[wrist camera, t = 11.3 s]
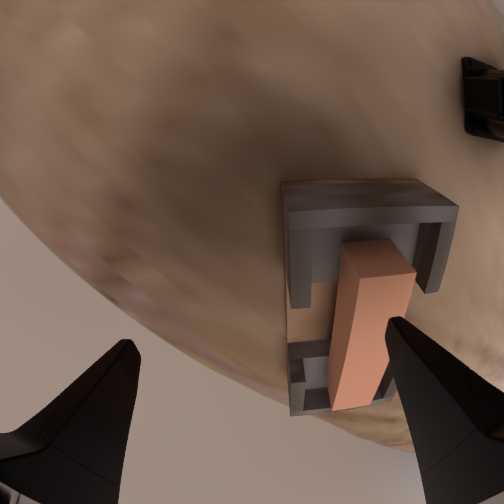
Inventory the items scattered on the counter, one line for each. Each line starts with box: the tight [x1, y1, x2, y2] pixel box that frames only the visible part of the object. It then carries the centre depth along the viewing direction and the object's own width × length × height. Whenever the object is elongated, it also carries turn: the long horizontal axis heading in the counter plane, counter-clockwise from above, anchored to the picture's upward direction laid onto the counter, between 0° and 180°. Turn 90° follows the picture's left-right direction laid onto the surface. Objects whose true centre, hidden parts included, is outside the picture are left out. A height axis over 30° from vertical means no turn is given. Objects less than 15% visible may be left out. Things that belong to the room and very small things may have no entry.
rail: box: [326, 239, 417, 411], centre depth 19 cm, size 14×4×4 cm, turn 5°
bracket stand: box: [280, 179, 459, 416], centre depth 21 cm, size 10×20×6 cm, turn 5°
